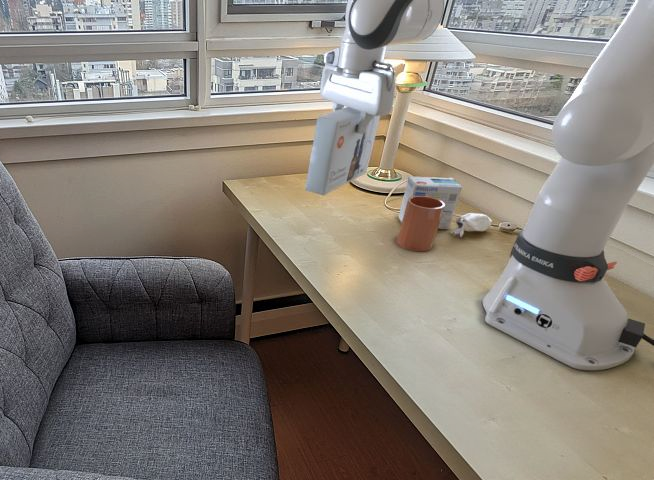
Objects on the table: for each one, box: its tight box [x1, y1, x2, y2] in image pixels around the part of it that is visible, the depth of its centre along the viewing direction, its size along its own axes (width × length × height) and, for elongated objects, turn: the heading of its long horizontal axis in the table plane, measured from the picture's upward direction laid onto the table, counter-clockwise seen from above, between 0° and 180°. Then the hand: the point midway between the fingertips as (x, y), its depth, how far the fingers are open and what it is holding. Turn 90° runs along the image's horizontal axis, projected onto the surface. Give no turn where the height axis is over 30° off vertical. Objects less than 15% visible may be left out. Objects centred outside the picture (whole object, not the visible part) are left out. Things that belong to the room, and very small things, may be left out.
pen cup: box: [396, 196, 445, 252], centre depth 105 cm, size 7×7×10 cm
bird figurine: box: [450, 212, 495, 238], centre depth 111 cm, size 5×7×10 cm
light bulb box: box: [398, 175, 463, 230], centre depth 114 cm, size 11×7×11 cm, turn 84°
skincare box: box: [304, 106, 381, 196], centre depth 106 cm, size 21×6×16 cm, turn 138°
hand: (348, 128), depth 104 cm, fingers closed on skincare box, 6 cm apart
